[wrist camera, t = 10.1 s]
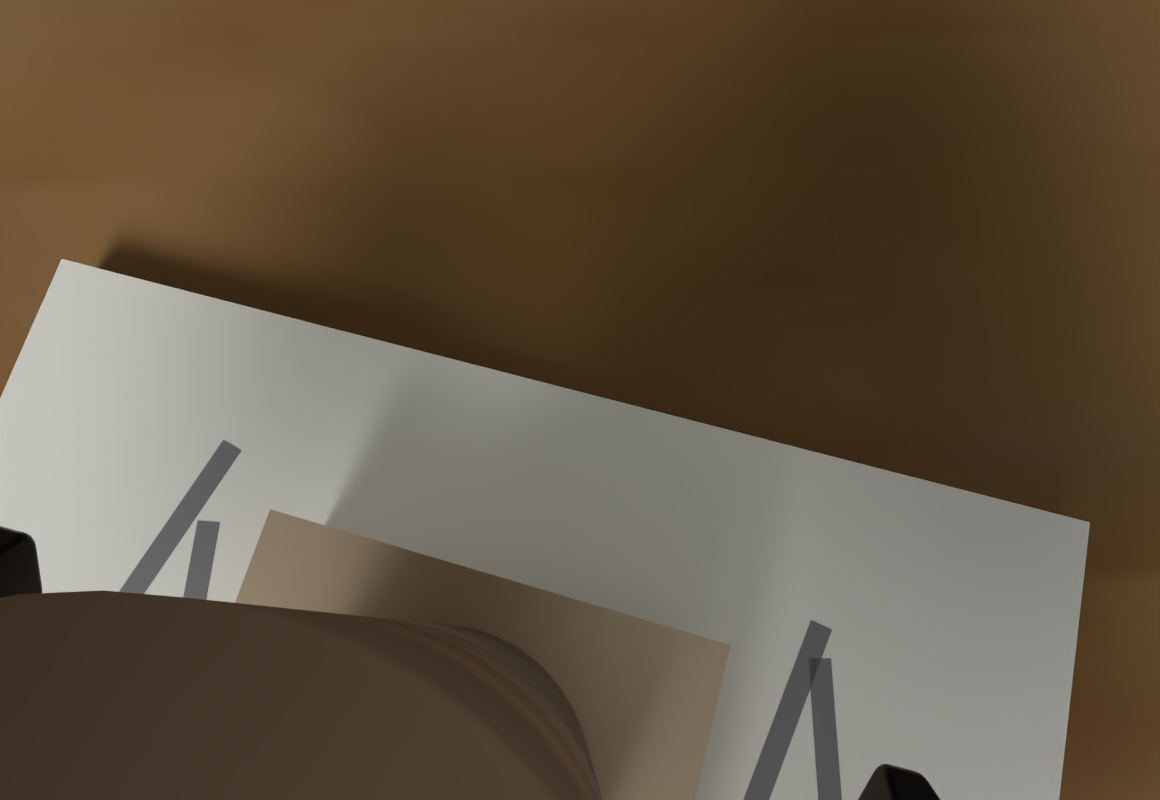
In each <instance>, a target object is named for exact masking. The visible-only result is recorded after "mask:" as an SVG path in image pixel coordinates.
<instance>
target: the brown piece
mask: <svg viewBox="0 0 1160 800" xmlns="http://www.w3.org/2000/svg"><path fill="white" fill-rule="evenodd" d="M729 650H730V645H728V644H725V643H722V642H718V641H715V640H711V639H708V638H705V637H701V636H698V635H695V634H691V633H688V632H684V631H681V630H678V629H674V628H671V627H667V626H664V625H661V624H657V623H654V622H651V621H647V620H644V619H640V618H637V617H634V616H630V615H627V614H623V613H620V612H617V611H613V610H610V609H607V608H603V607H600V606H596V605H593V604H590V603H586V602H583V601H579V600H576V599H573V598H569V597H566V596H562V595H559V594H556V593H552V592H549V591H546V590H542V589H539V588H535V587H532V586H529V585H525V584H522V583H518V582H515V581H512V580H508V579H505V578H502V577H498V576H495V575H491V574H488V573H485V572H481V571H478V570H474V569H471V568H468V567H464V566H461V565H458V564H454V563H451V562H447V561H444V560H441V559H437V558H434V557H430V556H427V555H424V554H420V553H417V552H413V551H410V550H407V549H403V548H400V547H397V546H393V545H390V544H386V543H383V542H380V541H376V540H373V539H369V538H366V537H363V536H359V535H356V534H353V533H349V532H346V531H342V530H339V529H336V528H332V527H329V526H325V525H322V524H319V523H315V522H312V521H308V520H305V519H302V518H298V517H295V516H292V515H288V514H285V513H281V512H278V511H275V510H271V509H270V511H269V514H268V516H267V519H266V521H265V524H264V527H263V529H262V532H261V535H260V537H259V540H258V543H257V545H256V548H255V551H254V553H253V556H252V559H251V561H250V564H249V566H248V569H247V572H246V574H245V577H244V580H243V582H242V585H241V588H240V590H239V593H238V596H237V598H236V601H235V603H232V602H222V601H213V600H203V599H194V598H184V597H173V596H162V595H150V594H138V593H127V592H115V591H104V590H100V591H79V592H57V593H35V594H19V595H14V596H8V597H2V598H0V800H694V798H695V794H696V790H697V786H698V781H699V777H700V773H701V769H702V764H703V760H704V756H705V752H706V747H707V743H708V739H709V735H710V730H711V726H712V722H713V718H714V713H715V709H716V705H717V701H718V696H719V692H720V688H721V684H722V679H723V675H724V671H725V667H726V662H727V658H728V654H729Z"/></svg>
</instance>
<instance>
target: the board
mask: <svg viewBox="0 0 1160 800" xmlns="http://www.w3.org/2000/svg"><path fill="white" fill-rule="evenodd" d="M270 509H271V510H275V511H278V512H281V513H285V514H288V515H292V516H295V517H298V518H302V519H305V520H308V521H312V522H315V523H319V524H322V525H325V526H329V527H332V528H336V529H339V530H342V531H346V532H349V533H353V534H356V535H359V536H363V537H366V538H369V539H373V540H376V541H380V542H383V543H386V544H390V545H393V546H397V547H400V548H403V549H407V550H410V551H413V552H417V553H420V554H424V555H427V556H430V557H434V558H437V559H441V560H444V561H447V562H451V563H454V564H458V565H461V566H464V567H468V568H471V569H474V570H478V571H481V572H485V573H488V574H491V575H495V576H498V577H502V578H505V579H508V580H512V581H515V582H518V583H522V584H525V585H529V586H532V587H535V588H539V589H542V590H546V591H549V592H552V593H556V594H559V595H562V596H566V597H569V598H573V599H576V600H579V601H583V602H586V603H590V604H593V605H596V606H600V607H603V608H607V609H610V610H613V611H617V612H620V613H623V614H627V615H630V616H634V617H637V618H640V619H644V620H647V621H651V622H654V623H657V624H661V625H664V626H667V627H671V628H674V629H678V630H681V631H684V632H688V633H691V634H695V635H698V636H701V637H705V638H708V639H711V640H715V641H718V642H722V643H725V644H728V645H730V650H729V654H728V658H727V662H726V667H725V671H724V675H723V679H722V684H721V688H720V692H719V696H718V701H717V705H716V709H715V713H714V718H713V722H712V726H711V730H710V735H709V739H708V743H707V747H706V752H705V756H704V760H703V764H702V769H701V773H700V777H699V781H698V786H697V790H696V794H695V798H694V800H858V799H859V797H860V795H861V793H862V792H863V790H864V788H865V786H866V785H867V783H868V781H869V779H870V778H871V776H872V774H873V772H874V771H875V770H876V768H877V767H878V766H880V765H882V764H890V765H894V766H898V767H902V768H905V769H909V770H913V771H916V772H918V773H920V774H922V775H923V776H924V777H925V778H926V779H927V781H928V782H929V783H930V785H931V786H932V788H933V789H934V791H935V792H936V794H937V795H938V797H939V798H940V800H1059V797H1060V788H1061V779H1062V770H1063V761H1064V752H1065V743H1066V734H1067V725H1068V716H1069V707H1070V698H1071V689H1072V680H1073V671H1074V662H1075V653H1076V644H1077V635H1078V626H1079V617H1080V608H1081V599H1082V590H1083V581H1084V572H1085V563H1086V554H1087V545H1088V536H1089V527H1090V522H1087V521H1083V520H1079V519H1075V518H1071V517H1067V516H1063V515H1059V514H1055V513H1052V512H1048V511H1044V510H1040V509H1036V508H1032V507H1028V506H1024V505H1020V504H1016V503H1013V502H1009V501H1005V500H1001V499H997V498H993V497H989V496H985V495H981V494H977V493H973V492H970V491H966V490H962V489H958V488H954V487H950V486H946V485H942V484H938V483H934V482H931V481H927V480H923V479H919V478H915V477H911V476H907V475H903V474H899V473H895V472H891V471H888V470H884V469H880V468H876V467H872V466H868V465H864V464H860V463H856V462H852V461H849V460H845V459H841V458H837V457H833V456H829V455H825V454H821V453H817V452H813V451H810V450H806V449H802V448H798V447H794V446H790V445H786V444H782V443H778V442H774V441H770V440H767V439H763V438H759V437H755V436H751V435H747V434H743V433H739V432H735V431H731V430H728V429H724V428H720V427H716V426H712V425H708V424H704V423H700V422H696V421H692V420H688V419H685V418H681V417H677V416H673V415H669V414H665V413H661V412H657V411H653V410H649V409H646V408H642V407H638V406H634V405H630V404H626V403H622V402H618V401H614V400H610V399H607V398H603V397H599V396H595V395H591V394H587V393H583V392H579V391H575V390H571V389H567V388H564V387H560V386H556V385H552V384H548V383H544V382H540V381H536V380H532V379H528V378H525V377H521V376H517V375H513V374H509V373H505V372H501V371H497V370H493V369H489V368H485V367H482V366H478V365H474V364H470V363H466V362H462V361H458V360H454V359H450V358H446V357H443V356H439V355H435V354H431V353H427V352H423V351H419V350H415V349H411V348H407V347H404V346H400V345H396V344H392V343H388V342H384V341H380V340H376V339H372V338H368V337H364V336H361V335H357V334H353V333H349V332H345V331H341V330H337V329H333V328H329V327H325V326H322V325H318V324H314V323H310V322H306V321H302V320H298V319H294V318H290V317H286V316H282V315H279V314H275V313H271V312H267V311H263V310H259V309H255V308H251V307H247V306H243V305H240V304H236V303H232V302H228V301H224V300H220V299H216V298H212V297H208V296H204V295H201V294H197V293H193V292H189V291H185V290H181V289H177V288H173V287H169V286H165V285H161V284H158V283H154V282H150V281H146V280H142V279H138V278H134V277H130V276H126V275H122V274H119V273H115V272H111V271H107V270H103V269H99V268H95V267H91V266H87V265H83V264H79V263H76V262H72V261H68V260H64V259H61V262H60V264H59V266H58V268H57V271H56V273H55V275H54V278H53V280H52V282H51V284H50V287H49V289H48V291H47V293H46V296H45V298H44V300H43V303H42V305H41V307H40V309H39V312H38V314H37V316H36V318H35V321H34V323H33V325H32V328H31V330H30V332H29V334H28V337H27V339H26V341H25V343H24V346H23V348H22V350H21V353H20V355H19V357H18V359H17V362H16V364H15V366H14V368H13V371H12V373H11V375H10V377H9V380H8V382H7V384H6V387H5V389H4V391H3V393H2V396H1V398H0V526H2V527H6V528H10V529H13V530H17V531H21V532H24V533H27V534H29V535H30V536H31V537H32V538H33V540H34V541H35V544H36V549H37V556H38V563H39V570H40V576H41V583H42V593H57V592H79V591H100V590H104V591H115V592H127V593H138V594H150V595H162V596H173V597H184V598H194V599H203V600H213V601H222V602H232V603H235V601H236V598H237V596H238V593H239V590H240V588H241V585H242V582H243V580H244V577H245V574H246V572H247V569H248V566H249V564H250V561H251V559H252V556H253V553H254V551H255V548H256V545H257V543H258V540H259V537H260V535H261V532H262V529H263V527H264V524H265V521H266V519H267V516H268V514H269V511H270Z"/></svg>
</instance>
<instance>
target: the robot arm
mask: <svg viewBox="0 0 1160 800" xmlns="http://www.w3.org/2000/svg"><path fill="white" fill-rule="evenodd" d="M35 593H42V583H41V576H40V570H39V563H38V556H37V549H36V544H35V541H34V540H33V538H32V537H31V536H30V535H29V534H27V533H24V532H21V531H17V530H13V529H10V528H6V527H2V526H0V598H2V597H8V596H14V595H19V594H35ZM858 800H940V798H939V797H938V795H937V794H936V792H935V791H934V789H933V788H932V786H931V785H930V783H929V782H928V781H927V779H926V778H925V777H924V776H923V775H922V774H920V773H918V772H916V771H913V770H909V769H905V768H902V767H898V766H894V765H890V764H882V765H880V766H878V767H877V768H876V770H875V771H874V772H873V774H872V776H871V778H870V779H869V781H868V783H867V785H866V786H865V788H864V790H863V792H862V793H861V795H860V797H859V799H858Z"/></svg>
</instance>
